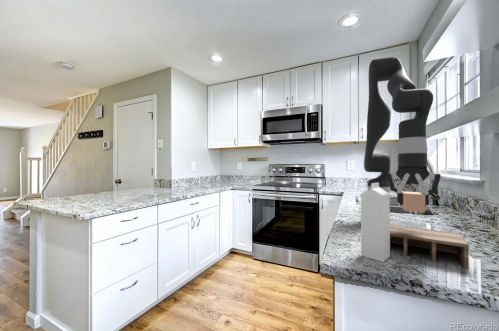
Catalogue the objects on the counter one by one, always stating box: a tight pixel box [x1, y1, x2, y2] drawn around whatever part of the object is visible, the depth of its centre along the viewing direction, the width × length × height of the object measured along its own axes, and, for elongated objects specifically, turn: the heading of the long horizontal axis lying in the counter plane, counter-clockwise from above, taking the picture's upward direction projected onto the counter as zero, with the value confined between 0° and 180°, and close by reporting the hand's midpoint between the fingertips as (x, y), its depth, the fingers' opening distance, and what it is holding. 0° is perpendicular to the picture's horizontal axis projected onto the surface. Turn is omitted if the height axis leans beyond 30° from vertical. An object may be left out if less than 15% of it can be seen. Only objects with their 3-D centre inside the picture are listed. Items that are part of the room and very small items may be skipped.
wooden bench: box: [390, 223, 470, 269], centre depth 68 cm, size 12×21×6 cm, turn 54°
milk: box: [360, 183, 391, 263], centre depth 65 cm, size 6×6×22 cm
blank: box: [400, 191, 426, 213], centre depth 69 cm, size 10×5×5 cm, turn 150°
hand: (412, 205), depth 69 cm, fingers closed on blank, 5 cm apart
